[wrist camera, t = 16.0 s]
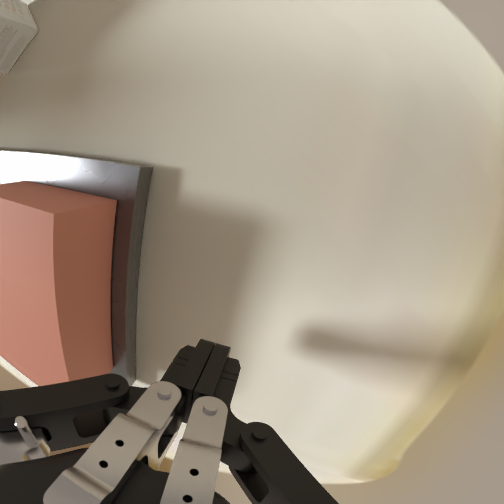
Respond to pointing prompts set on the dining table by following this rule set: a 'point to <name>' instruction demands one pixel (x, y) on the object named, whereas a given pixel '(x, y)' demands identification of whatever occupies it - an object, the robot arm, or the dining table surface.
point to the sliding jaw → (55, 282)
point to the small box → (14, 32)
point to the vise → (125, 227)
